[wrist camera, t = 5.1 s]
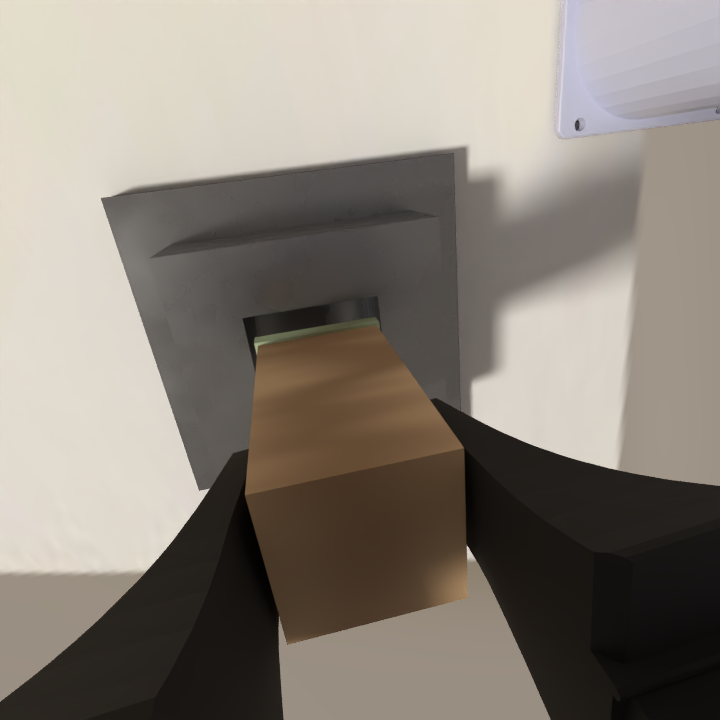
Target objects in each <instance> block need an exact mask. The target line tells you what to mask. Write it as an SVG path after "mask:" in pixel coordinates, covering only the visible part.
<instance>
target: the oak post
mask: <svg viewBox="0 0 720 720" xmlns="http://www.w3.org/2000/svg"><path fill="white" fill-rule="evenodd" d="M254 345H255V350H256V354H257V361H256V373H255V384H254V396H253V407H252V419H251V430H250V442H249V453H248V465H247V476H246V488H245V497H246V501H247V504H248V508H249V512H250V515H251V519H252V522H253V526H254V529H255V533H256V536H257V540H258V543H259V547H260V550H261V554H262V557H263V561H264V564H265V568H266V571H267V575H268V578H269V582H270V585H271V589H272V592H273V596H274V599H275V603H276V606H277V610H278V614H279V617H280V621H281V623H282V627H283V631H284V635H285V638H286V642H287V645H288V644H292V643H296V642H299V641H303V640H307V639H311V638H315V637H319V636H322V635H326V634H330V633H334V632H338V631H342V630H346V629H349V628H353V627H357V626H360V625H365V624H369V623H372V622H376V621H380V620H384V619H388V618H392V617H396V616H399V615H403V614H407V613H411V612H414V611H418V610H422V609H426V608H430V607H434V606H438V605H442V604H446V603H449V602H453V601H457V600H461V599H465V598H467V597H468V588H467V544H466V503H465V461H464V447H463V446H462V444H461V443H460V441H459V440H458V439H457V437H456V436H455V434H454V433H453V432H452V430H451V429H450V427H449V426H448V425H447V423H446V422H445V420H444V419H443V418H442V416H441V415H440V413H439V412H438V411H437V409H436V408H435V406H434V405H433V404H432V402H431V401H430V399H429V398H428V397H427V395H426V394H425V392H424V391H423V390H422V388H421V387H420V385H419V384H418V383H417V381H416V380H415V378H414V377H413V376H412V374H411V373H410V371H409V370H408V369H407V367H406V366H405V364H404V363H403V362H402V360H401V359H400V357H399V356H398V355H397V353H396V352H395V350H394V349H393V348H392V346H391V345H390V343H389V342H388V341H387V339H386V338H385V336H384V335H383V333H382V332H381V331H380V325H379V321H378V320H377V318H376V317H371V318H365V319H360V320H354V321H348V322H342V323H336V324H330V325H325V326H319V327H313V328H307V329H301V330H295V331H290V332H284V333H278V334H272V335H266V336H261V337H255V340H254Z"/></svg>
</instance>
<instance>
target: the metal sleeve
mask: <svg viewBox="0 0 720 720" xmlns="http://www.w3.org/2000/svg"><path fill="white" fill-rule="evenodd" d="M101 200H102V203H103V206H104V209H105V212H106V215H107V218H108V221H109V224H110V227H111V230H112V233H113V236H114V239H115V242H116V245H117V248H118V251H119V254H120V257H121V260H122V263H123V266H124V269H125V272H126V275H127V278H128V280H129V283H130V286H131V289H132V292H133V295H134V298H135V301H136V304H137V307H138V310H139V313H140V316H141V319H142V322H143V325H144V328H145V331H146V334H147V337H148V340H149V343H150V346H151V349H152V352H153V355H154V358H155V361H156V364H157V367H158V370H159V373H160V376H161V379H162V382H163V385H164V387H165V390H166V393H167V396H168V399H169V402H170V405H171V408H172V411H173V414H174V417H175V420H176V423H177V426H178V429H179V432H180V435H181V438H182V441H183V444H184V447H185V450H186V453H187V456H188V459H189V462H190V465H191V468H192V471H193V474H194V477H195V480H196V483H197V486H198V489H199V491H200V490H204V489H209V488H211V486H212V485H213V483H214V482H215V480H216V479H217V477H218V476H219V474H220V472H221V471H222V469H223V468H224V466H225V465H226V463H227V461H228V460H229V458H230V457H231V455H232V454H233V453H235V452H239V451H242V450H246V449H249V442H250V430H251V419H252V407H253V396H254V384H255V373H256V361H257V354H256V350H255V345H254V340H255V337H261V336H266V335H272V334H278V333H284V332H290V331H295V330H301V329H307V328H313V327H319V326H325V325H330V324H336V323H342V322H348V321H354V320H360V319H365V318H371V317H376V318H377V320H378V321H379V325H380V331H381V332H382V333H383V335H384V336H385V338H386V339H387V341H388V342H389V343H390V345H391V346H392V348H393V349H394V350H395V352H396V353H397V355H398V356H399V357H400V359H401V360H402V362H403V363H404V364H405V366H406V367H407V369H408V370H409V371H410V373H411V374H412V376H413V377H414V378H415V380H416V381H417V383H418V384H419V385H420V387H421V388H422V390H423V391H424V392H425V394H426V395H427V397H428V398H429V399H434V398H437V399H439V400H441V401H443V402H445V403H447V404H448V405H450V406H452V407H454V408H456V409H457V410H459V411H460V374H459V337H458V300H457V263H456V226H455V189H454V153H452V154H444V155H436V156H428V157H420V158H412V159H405V160H397V161H389V162H381V163H373V164H365V165H357V166H350V167H342V168H334V169H326V170H318V171H310V172H302V173H295V174H287V175H279V176H271V177H263V178H255V179H247V180H240V181H232V182H224V183H216V184H208V185H200V186H192V187H184V188H177V189H169V190H161V191H153V192H145V193H137V194H129V195H122V196H114V197H106V198H101Z"/></svg>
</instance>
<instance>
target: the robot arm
mask: <svg viewBox="0 0 720 720" xmlns="http://www.w3.org/2000/svg"><path fill="white" fill-rule="evenodd" d="M716 107H717V110H716V112H715V108H716ZM577 119H578V121H579V122H580V126H579V129H578V130H577V131H576V129H575V126H574V125H575V122H576V120H577ZM719 119H720V0H562V1H561V19H560V36H559V54H558V72H557V89H556V107H555V125H554V130H555V134H556V136H557V137H558V138H559V139H570V138H578V137H586V136H594V135H602V134H610V133H618V132H625V131H633V130H641V129H649V128H657V127H664V126H673V125H680V124H688V123H696V122H704V121H712V120H719ZM430 401H431V402H432V404H433V405H434V406H435V408H436V409H437V411H438V412H439V413H440V415H441V416H442V418H443V419H444V420H445V422H446V423H447V425H448V426H449V427H450V429H451V430H452V432H453V433H454V434H455V436H456V437H457V439H458V440H459V441H460V443H461V444H462V446H463V447H464V461H465V503H466V544H467V546H468V547H469V549H470V551H471V552H472V554H473V556H474V557H475V559H476V561H477V562H478V564H479V565H480V567H481V569H482V571H483V573H484V575H485V577H486V578H487V580H488V582H489V584H490V586H491V589H492V590H493V593H494V595H495V597H496V599H497V601H498V603H499V605H500V608H501V609H502V612H503V614H504V616H505V618H506V620H507V622H508V625H509V627H510V629H511V631H512V633H513V636H514V638H515V640H516V642H517V644H518V647H519V649H520V651H521V653H522V655H523V657H524V659H525V662H526V664H527V666H528V668H529V671H530V673H531V675H532V678H533V680H534V682H535V685H536V687H537V689H538V691H539V694H540V696H541V698H542V700H543V703H544V705H545V707H546V709H547V712H548V714H549V716H550V719H551V720H720V486H715V485H706V484H698V483H690V482H682V481H672V480H667V479H661V478H655V477H649V476H644V475H638V474H632V473H628V472H623V471H619V470H614V469H609V468H605V467H601V466H598V465H594V464H590V463H586V462H582V461H578V460H575V459H572V458H568V457H565V456H562V455H559V454H556V453H553V452H550V451H547V450H544V449H541V448H538V447H536V446H533V445H530V444H528V443H525V442H523V441H521V440H518V439H516V438H514V437H511V436H509V435H507V434H504V433H502V432H500V431H498V430H496V429H494V428H492V427H490V426H488V425H486V424H484V423H482V422H480V421H478V420H476V419H474V418H472V417H470V416H468V415H467V414H465V413H463V412H461V411H459V410H457V409H456V408H454V407H452V406H450V405H448V404H447V403H445V402H443V401H441V400H439V399H437V398H434V399H430ZM248 453H249V449H246V450H242V451H239V452H235V453H233V454H232V455H231V457H230V458H229V460H228V461H227V463H226V465H225V466H224V468H223V469H222V471H221V472H220V474H219V476H218V477H217V479H216V480H215V482H214V483H213V485H212V486H211V488H210V490H209V491H208V493H207V494H206V496H205V497H204V499H203V500H202V502H201V503H200V505H199V506H198V508H197V509H196V510H195V512H194V513H193V514H192V516H191V517H190V519H189V520H188V521H187V523H186V524H185V525H184V527H183V528H182V529H181V531H180V532H179V533H178V535H177V536H176V537H175V539H174V540H173V541H172V542H171V544H170V545H169V546H168V547H167V549H166V550H165V551H164V552H163V553H162V555H161V556H160V557H159V558H158V559H157V560H156V561H155V563H154V564H153V565H152V566H151V567H150V568H149V569H148V570H147V572H146V573H145V574H144V575H143V576H142V577H141V578H140V579H139V580H138V581H137V583H135V584H134V585H133V587H131V588H130V589H129V590H128V591H127V592H126V594H124V595H123V596H122V597H121V598H120V599H119V600H118V602H116V603H115V604H114V605H113V606H112V607H111V608H110V609H109V610H108V611H107V612H106V613H105V614H104V615H103V616H102V617H101V618H100V619H99V620H98V621H97V622H96V623H95V624H94V625H93V626H92V627H90V628H89V629H88V630H87V631H86V632H85V633H84V634H83V635H82V636H81V637H79V638H78V639H77V640H76V641H75V642H74V643H72V644H71V645H70V646H69V647H68V648H67V649H65V650H64V651H63V652H62V653H61V654H60V655H58V656H57V657H56V658H55V659H54V660H53V661H51V662H50V663H49V664H48V665H46V666H45V667H44V668H43V669H42V670H40V671H39V672H38V673H37V674H36V675H34V676H33V677H32V678H30V679H29V680H28V681H27V682H25V683H24V684H23V685H21V686H20V687H19V688H18V689H16V690H15V691H14V692H12V693H11V694H10V695H9V696H7V697H6V698H5V699H3V700H2V701H1V702H0V720H283V708H282V694H281V680H280V664H279V647H278V646H279V637H278V626H279V625H278V624H279V614H278V610H277V606H276V603H275V599H274V596H273V592H272V589H271V585H270V582H269V578H268V575H267V571H266V568H265V564H264V561H263V557H262V554H261V550H260V547H259V543H258V540H257V536H256V533H255V529H254V526H253V522H252V519H251V515H250V512H249V508H248V504H247V501H246V497H245V488H246V476H247V465H248Z"/></svg>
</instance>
